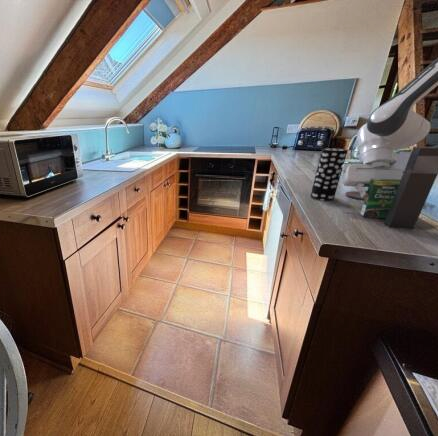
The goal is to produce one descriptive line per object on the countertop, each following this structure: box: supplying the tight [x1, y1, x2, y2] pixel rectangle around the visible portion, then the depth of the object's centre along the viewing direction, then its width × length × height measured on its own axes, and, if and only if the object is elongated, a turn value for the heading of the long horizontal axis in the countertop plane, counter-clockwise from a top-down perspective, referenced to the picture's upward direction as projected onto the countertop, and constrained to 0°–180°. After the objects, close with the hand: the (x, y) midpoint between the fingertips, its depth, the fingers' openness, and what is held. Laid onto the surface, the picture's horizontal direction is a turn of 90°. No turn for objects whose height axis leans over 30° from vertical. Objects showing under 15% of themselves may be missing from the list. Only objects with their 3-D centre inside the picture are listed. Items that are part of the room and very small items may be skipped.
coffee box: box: [359, 179, 401, 220], centre depth 81 cm, size 8×3×13 cm, turn 68°
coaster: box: [344, 190, 365, 201], centre depth 103 cm, size 11×11×1 cm
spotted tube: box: [309, 147, 348, 202], centre depth 99 cm, size 8×8×20 cm
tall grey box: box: [383, 146, 438, 230], centre depth 74 cm, size 8×6×24 cm
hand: (382, 197), depth 80 cm, fingers open, 8 cm apart
